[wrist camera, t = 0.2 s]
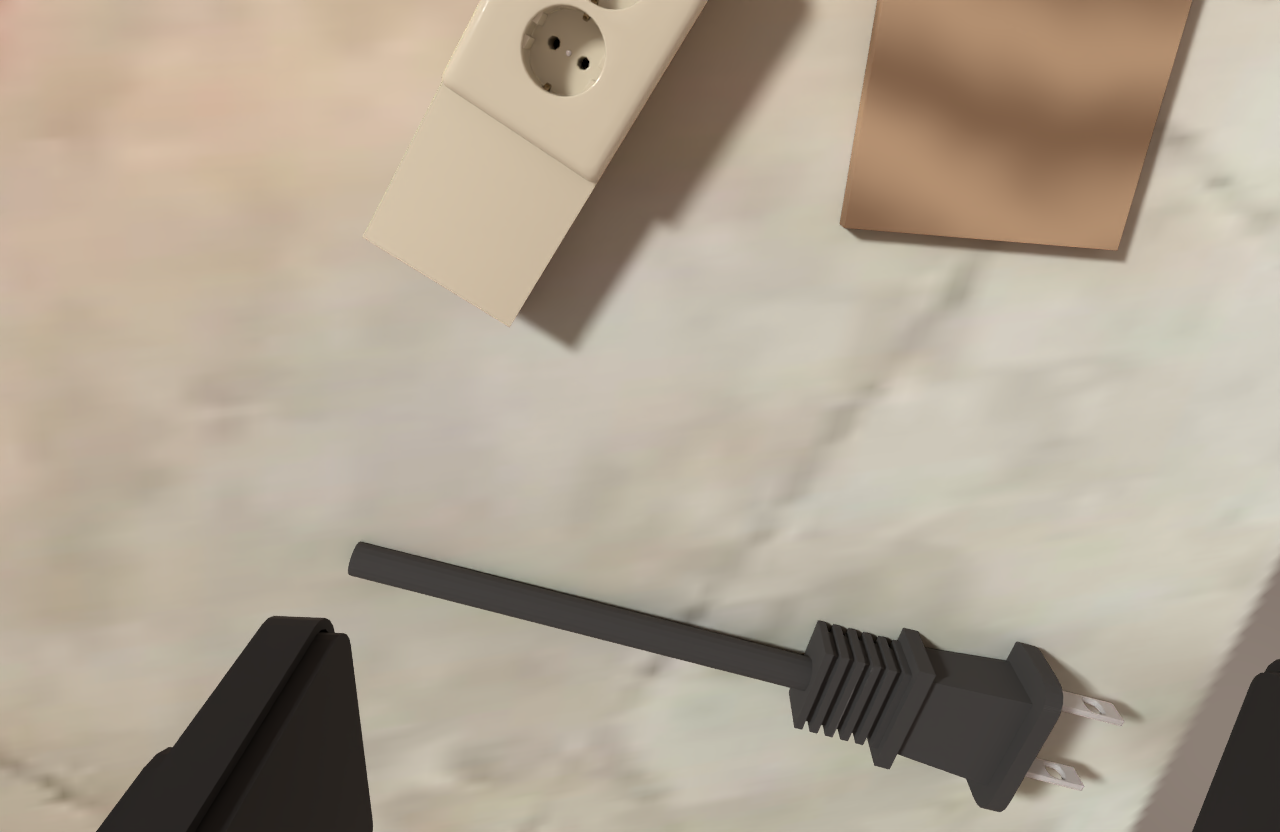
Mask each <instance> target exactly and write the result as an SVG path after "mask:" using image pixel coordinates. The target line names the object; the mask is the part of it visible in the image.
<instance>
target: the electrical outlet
mask: <svg viewBox="0 0 1280 832" xmlns="http://www.w3.org/2000/svg"><path fill="white" fill-rule="evenodd" d="M707 2H708V0H480V2H479V4H478V6H477V8H476V10H475V11H474V13H473V15H472V17H471V19H470V21H469V23H468V25H467V27H466V29H465V31H464V33H463V35H462V37H461V39H460V41H459V43H458V45H457V47H456V49H455V51H454V53H453V55H452V57H451V59H450V61H449V63H448V64H447V66H446V68H445V70H444V72H443V75H442V82H441V84H440V86H439V88H438V90H437V92H436V94H435V96H434V98H433V100H432V102H431V104H430V106H429V108H428V110H427V112H426V114H425V116H424V118H423V120H422V122H421V123H420V125H419V127H418V129H417V131H416V133H415V135H414V137H413V139H412V141H411V143H410V145H409V147H408V149H407V151H406V153H405V155H404V157H403V159H402V161H401V163H400V165H399V167H398V169H397V170H396V172H395V174H394V176H393V178H392V180H391V182H390V184H389V186H388V188H387V190H386V192H385V194H384V196H383V198H382V200H381V202H380V204H379V206H378V208H377V210H376V212H375V214H374V215H373V217H372V219H371V221H370V223H369V225H368V227H367V229H366V231H365V233H364V235H363V238H365V239H366V240H368V241H369V242H371V243H373V244H374V245H376V246H378V247H379V248H381V249H383V250H384V251H386V252H387V253H389V254H391V255H392V256H394V257H396V258H397V259H399V260H400V261H402V262H404V263H405V264H407V265H409V266H410V267H412V268H414V269H415V270H417V271H418V272H420V273H422V274H423V275H425V276H427V277H428V278H430V279H432V280H433V281H435V282H436V283H438V284H440V285H441V286H443V287H445V288H446V289H448V290H450V291H451V292H453V293H454V294H456V295H458V296H459V297H461V298H463V299H464V300H466V301H468V302H469V303H471V304H472V305H474V306H476V307H477V308H479V309H481V310H482V311H484V312H486V313H487V314H489V315H490V316H492V317H494V318H495V319H497V320H499V321H500V322H502V323H503V324H505V325H507V326H508V327H510V326H511V324H512V322H513V321H514V319H515V318H516V316H517V314H518V313H519V311H520V310H521V308H522V306H523V305H524V303H525V301H526V300H527V298H528V296H529V295H530V293H531V291H532V290H533V288H534V287H535V285H536V283H537V282H538V280H539V278H540V277H541V275H542V273H543V272H544V270H545V268H546V267H547V265H548V263H549V262H550V260H551V259H552V257H553V255H554V254H555V252H556V250H557V249H558V247H559V245H560V244H561V242H562V240H563V239H564V237H565V235H566V234H567V232H568V231H569V229H570V227H571V226H572V224H573V222H574V221H575V219H576V217H577V216H578V214H579V212H580V211H581V209H582V207H583V206H584V204H585V203H586V201H587V199H588V198H589V196H590V194H591V193H592V191H593V189H594V188H595V186H596V184H597V183H598V181H599V179H600V178H601V176H602V175H603V173H604V171H605V170H606V168H607V166H608V165H609V163H610V161H611V160H612V158H613V156H614V155H615V153H616V151H617V150H618V148H619V147H620V145H621V143H622V142H623V140H624V138H625V137H626V135H627V133H628V132H629V130H630V128H631V127H632V125H633V123H634V122H635V120H636V119H637V117H638V115H639V114H640V112H641V110H642V109H643V107H644V105H645V104H646V102H647V100H648V99H649V97H650V95H651V94H652V92H653V91H654V89H655V87H656V86H657V84H658V82H659V81H660V79H661V77H662V76H663V74H664V72H665V71H666V69H667V67H668V66H669V64H670V63H671V61H672V59H673V58H674V56H675V54H676V53H677V51H678V49H679V48H680V46H681V44H682V43H683V41H684V39H685V38H686V36H687V35H688V33H689V31H690V30H691V28H692V26H693V25H694V23H695V21H696V20H697V18H698V16H699V15H700V13H701V12H702V10H703V8H704V7H705V5H706V3H707ZM557 38H558V39H559V40H560V46H559V47H558V48H557V49H555V48H554V46H553V45H554V41H555V40H556V39H557ZM585 58H588V60H589V62H590V63H589V67H588V68H587V69H586V70H584V68H583V67H582V60H583V59H585Z"/></svg>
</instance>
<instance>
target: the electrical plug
mask: <svg viewBox="0 0 1280 832" xmlns="http://www.w3.org/2000/svg"><path fill="white" fill-rule="evenodd" d="M348 574H349V575H351V576H355V577H359V578H363V579H366V580H370V581H374V582H378V583H382V584H386V585H390V586H394V587H398V588H402V589H406V590H410V591H414V592H417V593H421V594H425V595H429V596H433V597H437V598H441V599H445V600H449V601H453V602H457V603H461V604H464V605H468V606H472V607H476V608H480V609H484V610H488V611H492V612H496V613H500V614H504V615H508V616H511V617H515V618H519V619H523V620H527V621H531V622H535V623H539V624H543V625H547V626H551V627H555V628H558V629H562V630H566V631H570V632H574V633H578V634H582V635H586V636H590V637H594V638H598V639H602V640H605V641H609V642H613V643H617V644H621V645H625V646H629V647H633V648H637V649H641V650H645V651H649V652H653V653H656V654H660V655H664V656H668V657H672V658H676V659H680V660H684V661H688V662H692V663H696V664H700V665H703V666H707V667H711V668H715V669H719V670H723V671H727V672H731V673H735V674H739V675H743V676H747V677H750V678H754V679H758V680H762V681H766V682H770V683H774V684H778V685H782V686H786V687H790V690H789V696H790V702H791V709H792V716H793V722H794V728H798V729H802V728H803V726H804V724H805V721H808V725H809V731H810V732H813V733H818V731H819V728H820V726H821V725H823V728H824V733H825V736H829V737H833V735H834V733H835V731H836V729H838V732H839V736H840V739H841V740H845V741H848V740H849V737H850V735H851V733H853V735H854V740H855V743H857V744H861V745H863V744H864V742H865V740H866V738H867V739H868V743H869V747H870V751H871V755H872V758H873V762H874V766H878V767H882V768H886V769H890V768H891V766H892V763H893V761H894V759H895V757H896V755H897V754H899V755H901V756H904V757H907V758H910V759H913V760H916V761H918V762H921V763H924V764H927V765H930V766H932V767H935V768H938V769H941V770H944V771H946V772H949V773H952V774H955V775H958V776H960V777H963V778H966V779H967V782H968V785H969V787H970V790H971V792H972V795H973V797H974V799H975V801H976V803H977V805H978V806H979V807H981V808H985V809H989V810H993V811H997V812H1002V811H1003V810H1004V809H1006V807H1007V806H1008V804H1009V803H1010V801H1011V800H1012V798H1013V796H1014V794H1015V793H1016V791H1017V789H1018V787H1019V786H1020V784H1021V782H1022V780H1023V779H1024V777H1029V778H1033V779H1037V780H1041V781H1045V782H1048V783H1052V784H1056V785H1060V786H1064V787H1068V788H1072V789H1076V790H1080V791H1082V789H1083V787H1084V785H1083V783H1082V781H1081V780H1080V778H1079V776H1078V774H1077V772H1076V771H1075V769H1074V767H1071V766H1067V765H1063V764H1059V763H1055V762H1051V761H1047V760H1043V759H1039V758H1036V756H1037V755H1038V753H1039V751H1040V749H1041V748H1042V746H1043V744H1044V742H1045V741H1046V739H1047V737H1048V736H1049V734H1050V732H1051V730H1052V729H1053V727H1054V725H1055V723H1056V722H1057V720H1058V718H1059V716H1060V713H1061V711H1064V712H1068V713H1072V714H1076V715H1080V716H1084V717H1088V718H1092V719H1095V720H1099V721H1103V722H1107V723H1111V724H1115V725H1119V726H1122V724H1123V723H1124V720H1123V718H1122V717H1121V715H1120V714H1119V712H1118V711H1117V709H1116V708H1115V706H1114V705H1113V703H1109V702H1105V701H1102V700H1098V699H1094V698H1090V697H1086V696H1082V695H1078V694H1074V693H1071V692H1067V691H1063V690H1062V687H1061V685H1060V683H1059V681H1058V679H1057V677H1056V676H1055V674H1054V672H1053V671H1052V669H1051V667H1050V666H1049V664H1048V663H1047V661H1046V659H1045V658H1044V656H1043V654H1042V653H1041V652H1040V650H1039V649H1038V648H1036V647H1034V646H1031V645H1027V644H1024V643H1020V642H1016V643H1015V645H1014V647H1013V649H1012V651H1011V652H1010V654H1009V656H1008V658H1007V660H1006V661H1004V660H997V659H991V658H985V657H979V656H973V655H966V654H960V653H954V652H948V651H942V650H935V649H929V648H925V647H924V645H923V642H922V640H921V638H920V635H919V633H918V631H915V630H910V629H906V628H903V629H902V631H901V634H900V636H899V638H898V640H897V641H896V640H893V641H892V643H891V645H890V648H889V646H888V643H887V640H886V638H885V637H881V636H878V637H877V640H876V642H875V644H874V643H873V639H872V636H871V634H869V633H865V632H863V634H862V636H861V638H860V640H859V639H858V636H857V633H856V630H854V629H850V628H848V630H847V632H846V635H845V636H843V633H842V629H841V626H838V625H834V624H833V626H832V628H831V631H830V632H828V629H827V625H826V622H823V621H819V620H818V622H817V625H816V627H815V630H814V632H813V634H812V637H811V639H810V642H809V644H808V647H807V649H806V651H805V654H804V655H800V654H796V653H792V652H788V651H784V650H781V649H777V648H773V647H769V646H765V645H761V644H757V643H753V642H749V641H745V640H742V639H738V638H734V637H730V636H726V635H722V634H718V633H714V632H710V631H707V630H703V629H699V628H695V627H691V626H687V625H683V624H679V623H675V622H671V621H668V620H664V619H660V618H656V617H652V616H648V615H644V614H640V613H636V612H633V611H629V610H625V609H621V608H617V607H613V606H609V605H605V604H601V603H597V602H594V601H590V600H586V599H582V598H578V597H574V596H570V595H566V594H562V593H559V592H555V591H551V590H547V589H543V588H539V587H535V586H531V585H527V584H523V583H520V582H516V581H512V580H508V579H504V578H500V577H496V576H492V575H488V574H484V573H481V572H477V571H473V570H469V569H465V568H461V567H457V566H453V565H449V564H446V563H442V562H438V561H434V560H430V559H426V558H422V557H418V556H414V555H410V554H407V553H403V552H399V551H395V550H391V549H387V548H383V547H379V546H375V545H372V544H368V543H364V542H359V543H358V544H357V545H356V547H355V549H354V551H353V553H352V556H351V559H350V562H349V567H348ZM1083 702H1084V703H1088V704H1091V705H1093V706H1095V707H1096V708H1097V709H1098V711H1099V712H1100V713H1101V714H1098V713H1095V712H1092V711H1090V710H1089V709H1088V708H1087V707H1086V706H1085V704H1084V703H1083ZM1045 766H1046V767H1050V768H1053V769H1055V770H1057V772H1058V773H1059V774H1060V775H1061V777H1062V779H1063V780H1062V779H1058V778H1055V777H1053V776H1051V775H1050V774H1049V773H1048V772H1047V770H1046V768H1045Z"/></svg>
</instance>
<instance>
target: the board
mask: <svg viewBox="0 0 1280 832" xmlns="http://www.w3.org/2000/svg"><path fill="white" fill-rule="evenodd" d="M1191 3H1192V0H877V6H876V12H875V18H874V23H873V29H872V35H871V41H870V47H869V53H868V59H867V65H866V71H865V77H864V83H863V89H862V95H861V101H860V107H859V112H858V118H857V124H856V130H855V136H854V142H853V148H852V154H851V160H850V166H849V172H848V178H847V184H846V190H845V195H844V201H843V207H842V213H841V219H840V225H841V226H843V227H844V228H852V229H864V230H876V231H888V232H900V233H912V234H924V235H936V236H948V237H961V238H973V239H985V240H997V241H1009V242H1021V243H1033V244H1045V245H1057V246H1069V247H1081V248H1093V249H1105V250H1118V247H1119V243H1120V240H1121V237H1122V233H1123V230H1124V227H1125V223H1126V220H1127V217H1128V213H1129V210H1130V207H1131V203H1132V200H1133V197H1134V193H1135V190H1136V187H1137V183H1138V180H1139V177H1140V173H1141V170H1142V167H1143V163H1144V160H1145V157H1146V153H1147V150H1148V147H1149V143H1150V140H1151V137H1152V133H1153V130H1154V127H1155V123H1156V120H1157V117H1158V113H1159V110H1160V107H1161V103H1162V100H1163V97H1164V93H1165V90H1166V87H1167V83H1168V80H1169V77H1170V73H1171V70H1172V67H1173V63H1174V60H1175V57H1176V53H1177V50H1178V47H1179V43H1180V40H1181V37H1182V33H1183V30H1184V27H1185V23H1186V20H1187V17H1188V13H1189V10H1190V7H1191Z"/></svg>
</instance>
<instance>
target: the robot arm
mask: <svg viewBox="0 0 1280 832" xmlns="http://www.w3.org/2000/svg"><path fill="white" fill-rule="evenodd" d="M96 832H373V820H372V812H371V804H370V796H369V788H368V780H367V772H366V764H365V756H364V748H363V740H362V732H361V724H360V716H359V708H358V700H357V692H356V683H355V675H354V667H353V659H352V651H351V644H350V640H349V637H348V636H347V634H344V633H335V632H334V628H333V625H332V623H331V622H330V620H328V619H326V618H310V617H286V616H273V617H270V618H268V619H267V620H266V621H265V622H264V623H263V624H262V625H261V627H260V628H259V630H258V631H257V632H256V634H255V635H254V636H253V638H252V639H251V641H250V642H249V643H248V645H247V646H246V647H245V649H244V650H243V652H242V653H241V654H240V656H239V657H238V658H237V660H236V661H235V663H234V664H233V665H232V667H231V668H230V669H229V671H228V672H227V674H226V675H225V676H224V678H223V679H222V680H221V682H220V683H219V685H218V686H217V687H216V689H215V690H214V691H213V693H212V694H211V696H210V697H209V698H208V700H207V701H206V702H205V704H204V705H203V707H202V708H201V709H200V711H199V712H198V713H197V715H196V716H195V718H194V719H193V720H192V722H191V723H190V724H189V726H188V727H187V729H186V730H185V731H184V733H183V734H182V735H181V737H180V738H179V740H178V741H177V742H176V744H175V745H174V746H173V747H168V748H167V749H165V750H163V751H161V752H160V753H158V754H156V755H155V756H154V757H153V759H152V760H151V761H150V762H149V763H148V764H147V765H146V766H145V767H144V768H143V770H142V771H141V772H140V774H139V775H138V776H137V778H136V779H135V780H134V782H133V783H132V784H131V786H130V787H129V788H128V790H127V791H126V792H125V794H124V795H123V796H122V798H121V799H120V800H119V802H118V803H117V804H116V806H115V807H114V808H113V810H112V811H111V812H110V814H109V815H108V816H107V818H106V819H105V820H104V822H103V823H102V825H101V826H100V827H99V829H98V830H97V831H96ZM1192 832H1280V659H1278V660H1276V661H1274V662H1273V663H1271V664H1270V665H1269V666H1268V667H1267V669H1266V671H1265V672H1264V673H1260V674H1258V675H1257V676H1256V677H1255V678H1254V679H1253V681H1252V682H1251V684H1250V687H1249V689H1248V692H1247V695H1246V697H1245V700H1244V702H1243V705H1242V707H1241V710H1240V712H1239V715H1238V717H1237V720H1236V723H1235V725H1234V727H1233V730H1232V733H1231V735H1230V738H1229V740H1228V743H1227V745H1226V748H1225V751H1224V753H1223V756H1222V758H1221V760H1220V763H1219V765H1218V768H1217V770H1216V773H1215V776H1214V778H1213V781H1212V783H1211V786H1210V788H1209V791H1208V793H1207V796H1206V798H1205V801H1204V804H1203V806H1202V809H1201V811H1200V813H1199V816H1198V819H1197V821H1196V824H1195V826H1194V829H1193V831H1192Z"/></svg>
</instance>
